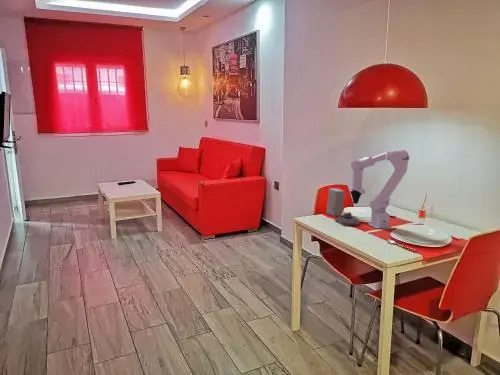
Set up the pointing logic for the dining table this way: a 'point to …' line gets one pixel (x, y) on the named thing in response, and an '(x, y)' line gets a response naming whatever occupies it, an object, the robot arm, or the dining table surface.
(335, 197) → the skincare box
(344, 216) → the cap
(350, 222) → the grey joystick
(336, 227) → the dining table surface
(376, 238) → the dining table surface
